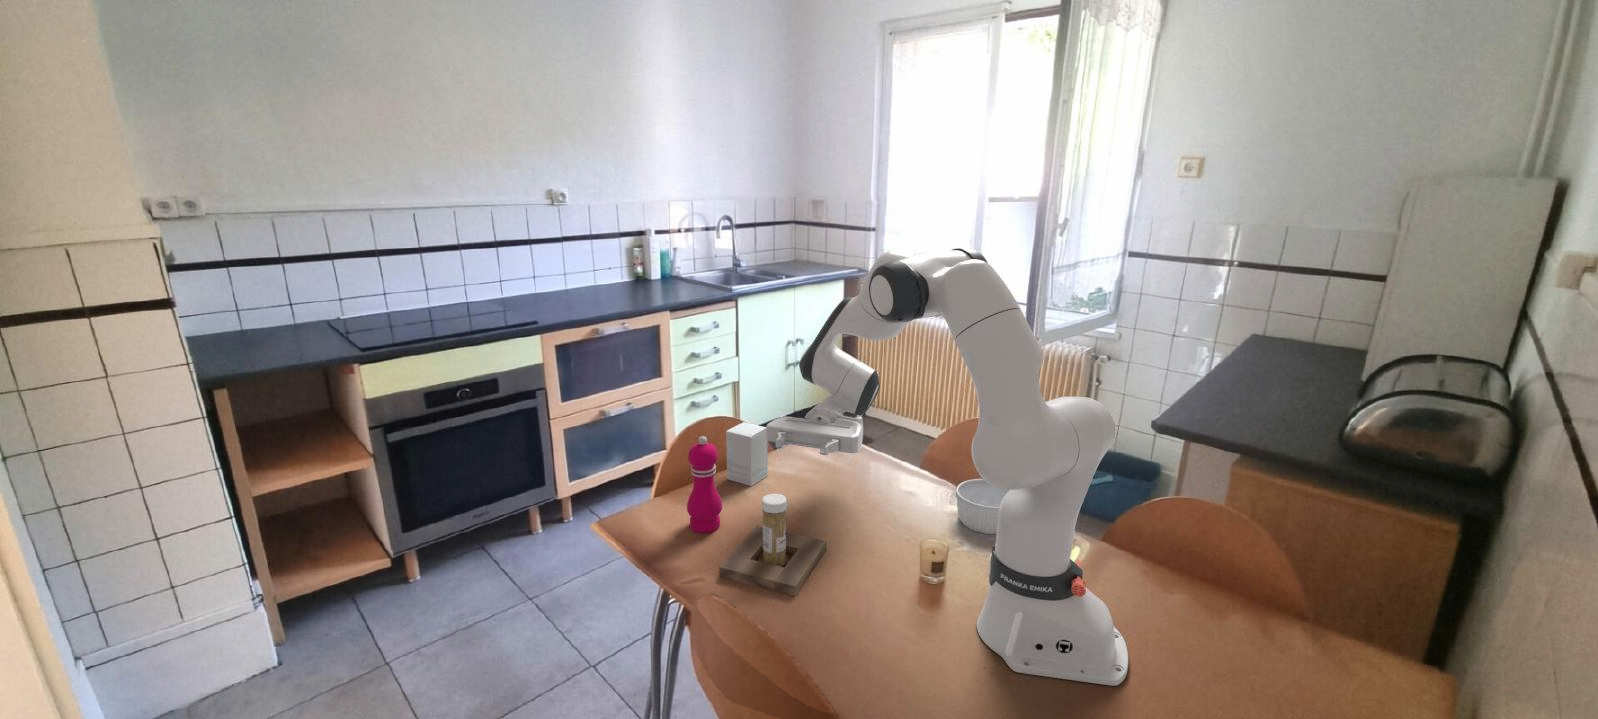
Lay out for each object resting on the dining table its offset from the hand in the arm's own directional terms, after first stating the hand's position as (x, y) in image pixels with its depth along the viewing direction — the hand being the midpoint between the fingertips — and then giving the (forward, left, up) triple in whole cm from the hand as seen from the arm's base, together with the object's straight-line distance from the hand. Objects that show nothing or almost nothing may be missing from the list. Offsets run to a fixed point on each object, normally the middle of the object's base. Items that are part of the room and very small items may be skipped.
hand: (800, 447), depth 132 cm
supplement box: (+21, -19, -19) cm, 34 cm away
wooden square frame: (0, +12, -19) cm, 22 cm away
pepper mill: (+19, +5, -19) cm, 28 cm away
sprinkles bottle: (0, +12, -19) cm, 22 cm away
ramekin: (-35, -20, -19) cm, 44 cm away
